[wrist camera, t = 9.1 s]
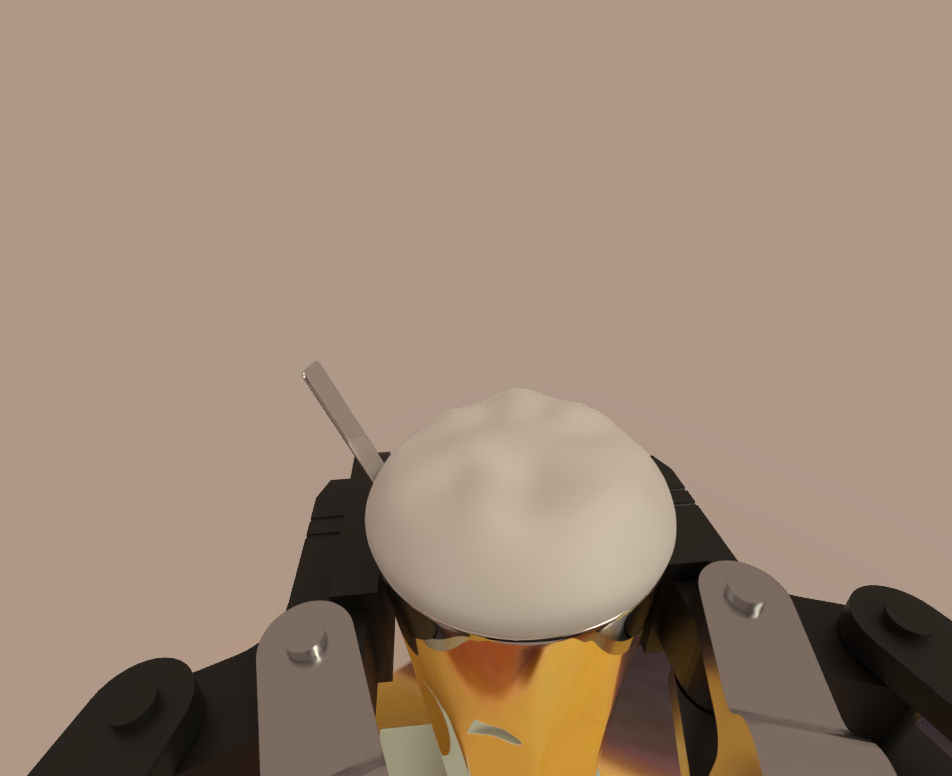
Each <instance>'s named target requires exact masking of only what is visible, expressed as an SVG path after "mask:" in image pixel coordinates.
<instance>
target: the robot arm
mask: <svg viewBox="0 0 952 776" xmlns="http://www.w3.org/2000/svg"><path fill="white" fill-rule="evenodd" d="M378 454H379V456H380V457H381V459H382V460H383V462H384V463H385V462H386V460H387V459H388V458H389V456H390V455H391V453H390V452H379V453H378ZM650 457H651V458H652V459H653V461H654V462H655V463H656V465H657V466H658V468H659V470H660V471H661V473H662V475H663V477H664V479H665V481H666V483H667V485H668V488H669V491H670V493H671V497H672V500H673V504H674V508H675V514H676V540H675V546H674V550H673V553H672V556H671V558H670V561H669V563H668V566H667V569H666V571H665V574H664V577H663V580H662V583H661V585H660V588H659V591H658V594H657V596H656V599H655V602H654V605H653V607H652V610H651V613H650V616H649V618H648V621H647V624H646V627H645V629H644V632H643V635H642V638H641V640H640V644H641V646H642V649H643V651H644V654H646V653H654V652H663V651H665V653H666V655H667V658H668V660H669V662H670V664H671V666H672V667H671V670H670V673H669V679H668V685H669V693H670V700H671V707H672V714H673V721H674V728H675V735H676V742H677V749H678V756H679V763H680V770H681V776H952V758H951V757H949V756H948V755H947V754H946V753H945V752H944V751H943V750H942V749H941V748H940V747H938V746H937V745H936V744H935V743H934V742H933V741H932V740H931V739H930V738H928V737H927V736H926V735H925V734H924V733H923V732H922V731H921V730H920V729H919V728H917V727H916V726H915V724H916V722H917V721H918V720H919V719H920V717H921V716H922V717H924V718H925V719H926V720H927V721H928V722H929V723H930V724H932V725H933V726H934V727H935V728H936V729H937V730H938V731H939V732H941V733H942V734H943V735H944V736H945V737H946V738H947V739H949V740H950V741H951V742H952V621H951V620H950V619H948V618H947V617H945V616H944V615H943V614H941V613H940V612H938V611H937V610H936V609H934V608H933V607H931V606H930V605H928V604H926V603H925V602H923V601H922V600H919V599H918V598H916V597H914V596H912V595H910V594H907V593H905V592H902V591H900V590H897V589H893V588H889V587H885V586H877V585H869V586H863V587H860V588H858V589H857V590H855V591H854V592H853V593H852V594H851V596H850V598H849V600H848V601H847V603H846V605H842V604H836V603H831V602H825V601H820V600H814V599H809V598H803V597H798V596H793V595H789V594H788V593H787V592H786V590H785V589H784V588H783V587H782V586H781V585H780V584H779V583H778V582H777V581H776V580H775V579H774V578H772V577H771V576H770V575H768V574H767V573H765V572H763V571H761V570H760V569H758V568H755V567H753V566H751V565H748V564H745V563H742V562H738V561H737V560H736V558H735V557H734V555H733V554H732V553H731V551H730V550H729V548H728V547H727V546H726V544H725V543H724V541H723V540H722V539H721V537H720V536H719V534H718V533H717V531H716V530H715V529H714V527H713V526H712V525H711V523H710V522H709V521H708V519H707V518H706V516H705V515H704V513H703V512H702V511H701V509H700V508H699V506H698V505H695V501H694V499H693V498H692V497H691V495H690V494H689V492H688V491H685V487H684V485H683V484H682V483H681V481H680V480H679V478H678V477H677V476H676V474H675V473H674V472H673V470H672V469H670V468H669V467H668V466H666V465H665V464H663V463H662V462H661V461H659V460H658V459H657V458H655V457H654V456H650ZM372 485H373V483H372V481H371V480H370V478H369V477H368V475H367V474H366V472H365V471H364V469H363V468H362V466H361V465H360V463H359V462H358V460H357V459H356V457H354V463H353V469H352V474H351V479H340V480H331V481H330V482H329V483H328V484H327V486H326V487H325V488H324V489H323V490H322V492H321V493H320V494H319V495H318V497H317V498H316V501H315V504H314V508H313V512H312V516H311V522H310V524H309V527H308V531H307V539H305V543H304V547H303V550H302V554H301V558H300V562H299V566H298V569H297V573H296V577H295V581H294V585H293V588H292V592H291V596H290V600H289V603H288V606H287V609H286V611H285V612H284V613H283V614H281V615H280V616H279V617H278V618H276V619H275V620H274V621H273V622H272V623H271V625H270V626H269V627H268V628H267V629H266V631H265V633H264V634H263V636H262V638H261V640H260V642H259V643H258V644H256V645H255V646H253V647H252V648H250V649H248V650H247V651H245V652H243V653H240V654H238V655H236V656H234V657H231V658H229V659H226V660H224V661H221V662H219V663H216V664H214V665H211V666H209V667H206V668H204V669H201V670H199V671H196V672H193V673H192V671H191V669H190V668H189V667H188V666H187V664H185V663H184V662H182V661H180V660H177V659H174V658H156V659H152V660H147V661H145V662H142V663H139V664H137V665H135V666H133V667H130V668H128V669H127V670H125V671H123V672H122V673H120V674H119V675H117V676H116V677H114V678H113V679H112V680H110V681H109V682H108V683H107V684H106V685H104V687H102V688H101V689H100V690H99V691H98V692H97V693H96V694H95V695H94V697H93V698H92V699H91V700H90V701H89V702H88V703H87V705H86V706H85V707H84V708H83V709H82V711H81V712H80V713H79V714H78V715H77V717H76V718H75V719H74V720H73V721H72V723H71V724H70V725H69V726H68V727H67V729H66V730H65V731H64V732H63V733H62V735H61V736H60V737H59V738H58V739H57V740H56V742H55V743H54V744H53V745H52V746H51V748H50V749H49V750H48V751H47V753H46V754H45V755H44V756H43V757H42V758H41V760H40V761H39V762H38V763H37V765H36V766H35V767H34V768H33V769H32V770H31V772H30V773H29V774H28V775H27V776H389V774H388V770H387V766H386V762H385V758H384V754H383V750H382V746H381V741H380V737H379V733H378V728H377V724H376V720H375V715H376V701H377V686H378V683H381V682H390V681H393V657H394V656H393V655H394V634H395V614H394V611H393V609H392V606H391V603H390V600H389V598H388V595H387V592H386V590H385V587H384V584H383V581H382V579H381V576H380V573H379V571H378V568H377V565H376V562H375V559H374V557H373V555H372V552H371V550H370V547H369V544H368V540H367V535H366V529H365V511H366V504H367V500H368V496H369V493H370V490H371V488H372Z"/></svg>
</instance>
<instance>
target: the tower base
mask: <svg viewBox="0 0 952 776" xmlns="http://www.w3.org/2000/svg"><path fill="white" fill-rule="evenodd" d="M380 741H381V746H382V750H383V754H384V758H385V762H386V766H387V770H388V774H389V776H447V773H446V769H445V766H444V763H443V760H442V757H441V754H440V750H439V747H438V744H437V741H436V738H435V735H434V731H433V728H432V725H431V724H424V725H415V726H406V727H396V728H387V729H380ZM595 776H600V772H599V768H597V771H596V774H595Z"/></svg>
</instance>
